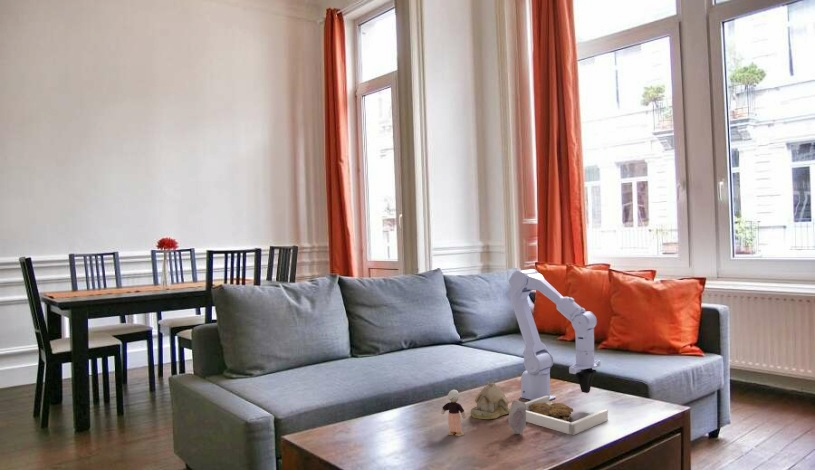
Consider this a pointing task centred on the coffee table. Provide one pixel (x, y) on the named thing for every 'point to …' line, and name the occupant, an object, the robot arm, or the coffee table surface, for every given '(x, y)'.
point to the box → (561, 424)
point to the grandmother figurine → (454, 413)
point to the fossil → (517, 416)
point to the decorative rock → (552, 410)
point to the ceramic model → (490, 403)
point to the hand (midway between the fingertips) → (585, 392)
